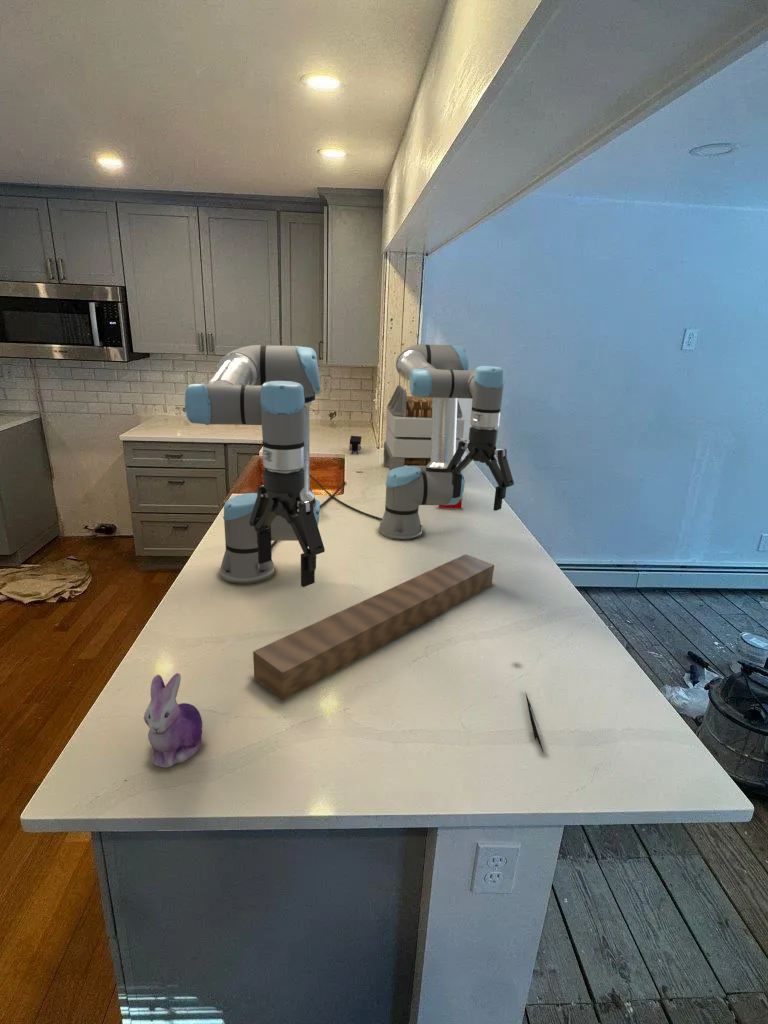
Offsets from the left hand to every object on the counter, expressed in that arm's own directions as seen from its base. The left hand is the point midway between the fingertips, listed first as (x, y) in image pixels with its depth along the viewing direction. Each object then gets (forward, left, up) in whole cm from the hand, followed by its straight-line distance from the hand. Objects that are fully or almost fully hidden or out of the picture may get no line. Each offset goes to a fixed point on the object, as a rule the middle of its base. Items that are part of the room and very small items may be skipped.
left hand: (285, 572), depth 111 cm
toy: (-123, +57, -25) cm, 138 cm away
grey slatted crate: (-161, +51, -25) cm, 171 cm away
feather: (+9, +49, -25) cm, 56 cm away
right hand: (-44, +49, 0) cm, 65 cm away
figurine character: (-201, +21, -25) cm, 204 cm away
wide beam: (-22, +24, -25) cm, 41 cm away
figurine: (+20, -18, -25) cm, 36 cm away
